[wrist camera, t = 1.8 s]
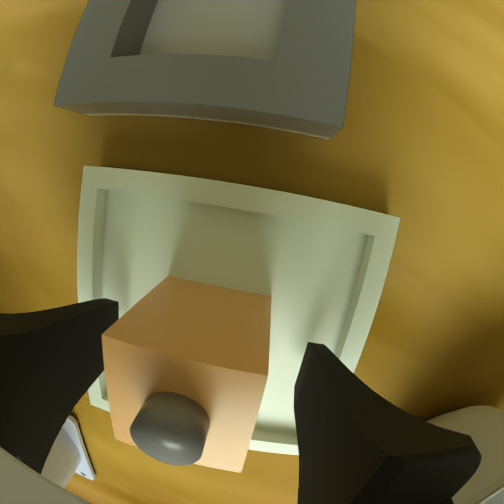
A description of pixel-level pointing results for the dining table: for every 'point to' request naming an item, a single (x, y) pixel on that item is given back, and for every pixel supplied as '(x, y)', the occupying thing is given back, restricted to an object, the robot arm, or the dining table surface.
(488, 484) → the teacup
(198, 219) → the tray
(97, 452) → the dining table surface
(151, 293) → the orange plug
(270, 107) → the grey socket board
